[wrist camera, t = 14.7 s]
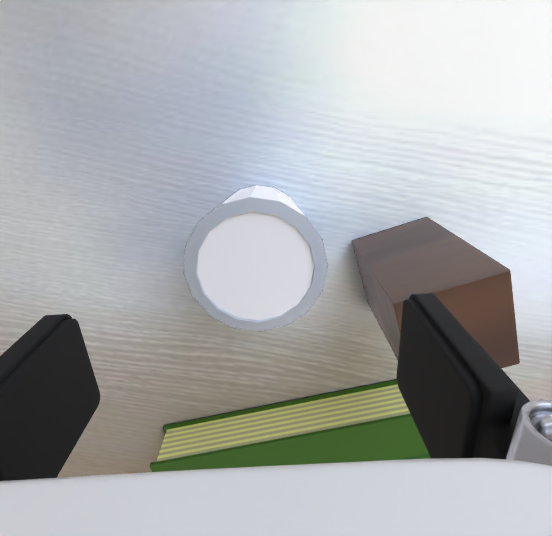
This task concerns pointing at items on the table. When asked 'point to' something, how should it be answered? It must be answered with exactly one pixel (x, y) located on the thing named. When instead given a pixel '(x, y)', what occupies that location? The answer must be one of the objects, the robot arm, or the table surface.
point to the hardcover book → (298, 433)
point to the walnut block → (439, 283)
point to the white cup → (255, 261)
